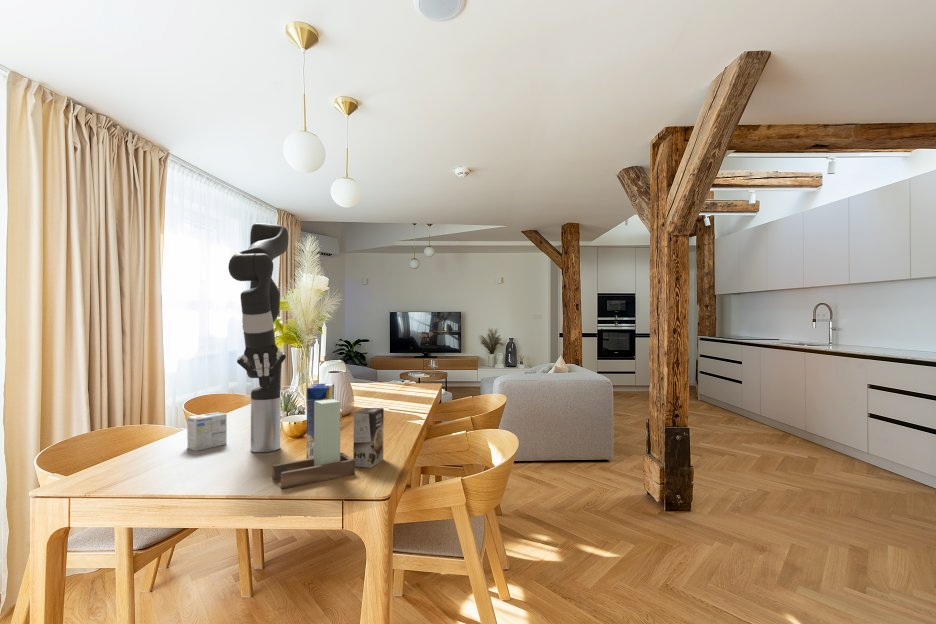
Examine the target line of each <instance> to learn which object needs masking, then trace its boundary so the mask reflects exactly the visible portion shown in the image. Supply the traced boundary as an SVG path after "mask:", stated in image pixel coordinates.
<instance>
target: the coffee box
mask: <svg viewBox="0 0 936 624" xmlns="http://www.w3.org/2000/svg"><path fill="white" fill-rule="evenodd" d="M384 420H385V419H384V407H365V408H362V409H359V410H357V411H355V412H353V451H352V452H353V458H352V459H354V460H355V467H360V468H369V469H371V468H374V467H375V466H376V465H377V464H379V463H380V462H382V461H383V460H384V423H385V422H384Z"/></svg>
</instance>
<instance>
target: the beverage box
mask: <svg viewBox="0 0 936 624" xmlns="http://www.w3.org/2000/svg"><path fill="white" fill-rule="evenodd" d="M329 399H334V400H335V384H334V383H313V384H311V385H310V386H308V387H307V388H306V459H310V458H314V401H320V400H329Z"/></svg>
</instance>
